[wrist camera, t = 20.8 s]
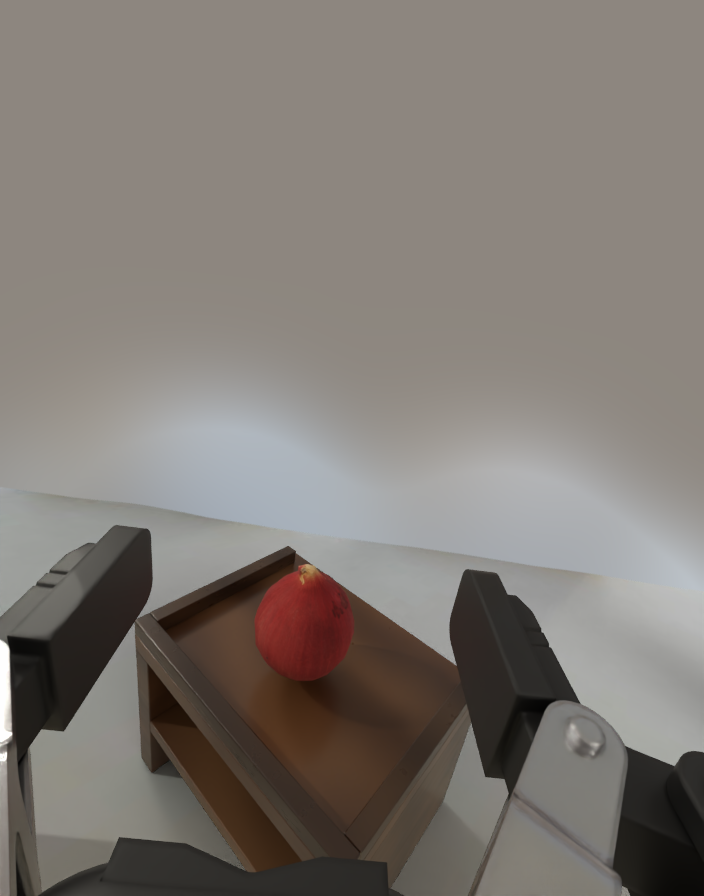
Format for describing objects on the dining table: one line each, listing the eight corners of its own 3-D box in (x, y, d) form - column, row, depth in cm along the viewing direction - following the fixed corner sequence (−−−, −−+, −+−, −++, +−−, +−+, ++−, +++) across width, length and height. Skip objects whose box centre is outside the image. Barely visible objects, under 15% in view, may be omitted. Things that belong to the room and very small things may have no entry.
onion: (315, 623, 31) (329, 527, 28) (362, 686, 26) (385, 581, 24) (236, 654, 27) (243, 549, 24) (276, 732, 23) (290, 616, 20)
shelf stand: (284, 654, 42) (296, 541, 38) (443, 800, 32) (489, 671, 27) (141, 757, 32) (133, 619, 27) (310, 1020, 22) (345, 875, 17)
